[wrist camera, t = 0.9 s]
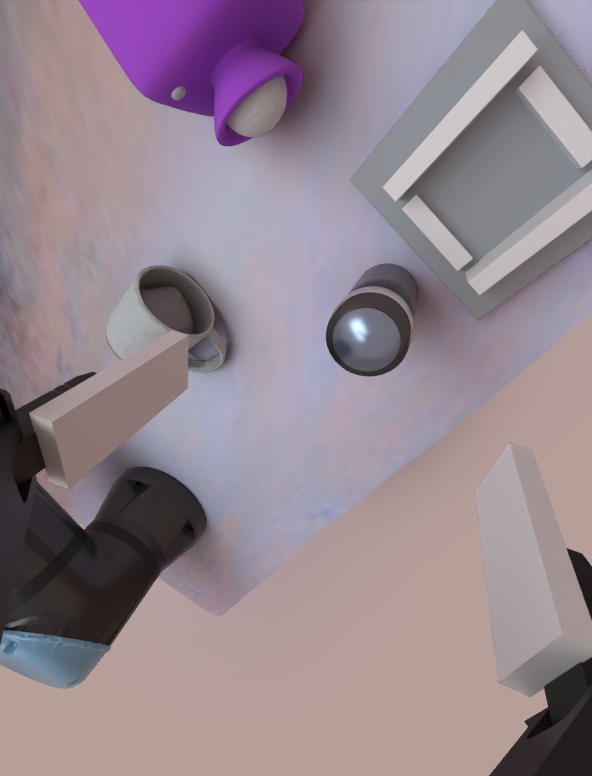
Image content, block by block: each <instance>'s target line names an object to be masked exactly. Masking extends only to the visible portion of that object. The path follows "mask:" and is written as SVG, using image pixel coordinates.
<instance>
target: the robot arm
mask: <svg viewBox="0 0 592 776" xmlns="http://www.w3.org/2000/svg"><path fill="white" fill-rule="evenodd" d="M188 336H189V335H187V334H184V333H181V332H178V331H175V330H172V331H170V332H168V333H167V334H165V335H163V336H161V337H160V338H158V339H156V340H154V341H153V342H151V343H149V344H148V345H146V346H144V347H142V348H141V349H139V350H137V351H135V352H134V353H132V354H130V355H129V356H127V357H125V358H123V359H122V360H120V361H118V362H116V363H115V364H113V365H111V366H109V367H108V368H106V369H104V370H103V371H101V372H99V373H95V372H91V373H87V374H84V375H80V376H77V377H75V378H73V379H71V380H70V381H68V382H66V383H64V385H63V386H62V385H61V386H59V387H57V388H55V389H53V391H50V392H48V393H46V394H44V395H42V396H41V397H39V398H37V399H35V400H33V401H32V402H30V403H28V404H26V405H24V406H23V407H21V408H19V409H17V410H15V408H14V405H13V402H12V399H11V395H10V394H9V393H8V392H7V391H6V390H3V389H0V664H1V665H3V666H5V667H7V668H9V669H11V670H13V671H15V672H17V673H19V674H21V675H23V676H26V677H28V678H30V679H33V680H36V681H38V682H41V683H44V684H46V685H49V686H53V687H57V688H64V689H65V688H71V687H74V686H76V685H78V684H80V683H81V682H82V681H84V680H85V679H86V677H87V676H88V675H89V674H90V672H91V671H92V670H93V669H94V667H95V666H96V665H97V663H98V662H99V661H100V660H101V658H102V657H103V656H104V654H105V653H106V652H108V651H109V650H110V648H111V647H110V646H111V644H112V643H113V642H114V640H115V639H116V637H117V636H118V634H119V633H120V631H121V630H122V629H123V627H124V626H125V624H126V623H127V621H128V620H129V618H130V617H131V615H132V614H133V613H134V611H135V610H136V608H137V607H138V605H139V604H140V602H141V601H142V599H143V598H144V596H145V595H146V594H147V592H148V591H149V589H150V588H151V586H152V585H153V583H154V582H155V580H156V579H157V578H158V576H159V575H160V573H161V572H162V571H163V570H164V569H165V568H167V567H168V566H169V565H170V564H172V563H173V562H174V561H175V560H176V559H178V558H179V557H180V556H181V555H183V554H184V553H185V552H186V551H188V550H189V549H190V548H191V547H193V546H194V544H195V543H196V542H197V540H198V539H199V537H200V536H201V534H202V533H203V531H204V529H205V516H204V513H203V510H202V508H201V506H200V505H199V503H198V501H197V500H196V499H195V497H194V496H193V495H192V494H191V493H190V492H189V491H188V490H187V489H186V488H185V487H184V486H183V485H182V484H181V483H179V482H178V481H177V480H175V479H174V478H172V477H170V476H169V475H167V474H165V473H163V472H160V471H158V470H155V469H151V468H146V467H135V468H131V469H129V470H127V471H126V472H125V473H124V474H123V475H122V476H121V477H119V478H118V479H117V480H116V481H115V483H114V484H113V485H112V487H111V489H110V491H109V493H108V495H107V497H106V498H105V500H104V502H103V504H102V506H101V508H100V510H99V512H98V513H97V515H96V517H95V519H94V520H93V521H92V522H91V523H90V524H89V525H88V526H87V527H86V528H85V529H84V530H83V529H82V528H81V527H80V526H79V525H78V523H77V522H76V521H75V520H74V519H73V518H72V517H71V516H70V515H69V514H68V513H67V512H66V511H65V510H64V509H63V508H62V507H61V506H60V505H59V504H58V503H57V502H56V501H55V500H54V499H53V498H52V496H51V495H50V494H49V493H48V492H47V491H46V490H45V489H44V488H43V487H42V486H41V485H40V484H39V483H38V482H37V479H36V474H37V473H38V472H40V471H41V470H42V469H44V468H45V469H46V473H47V476H48V480H49V481H51V482H53V483H55V484H57V485H60V486H62V487H64V488H66V489H68V490H69V489H70V488H71V487H72V486H73V485H74V484H76V483H77V482H78V481H79V480H80V479H81V478H83V477H84V476H85V475H86V474H87V473H89V472H90V471H91V470H92V469H93V468H94V467H96V466H97V465H98V464H99V463H100V462H102V461H103V460H104V459H105V458H106V457H107V456H109V455H110V454H111V453H112V452H113V451H115V450H116V449H117V448H118V447H119V446H120V445H122V444H123V443H124V442H125V441H126V440H127V439H129V438H130V437H131V436H132V435H133V434H135V433H136V432H137V431H138V430H139V429H140V428H142V427H143V426H144V425H145V424H146V423H148V422H149V421H150V420H151V419H152V418H153V417H155V416H156V415H157V414H158V413H159V412H160V411H162V410H163V409H164V408H165V407H166V406H168V405H169V404H170V403H171V402H172V401H173V400H175V399H176V398H177V397H178V396H179V395H181V394H182V393H183V392H184V391H185V390H186V389H188ZM475 496H476V503H477V504H476V505H477V513H478V521H479V529H480V537H481V545H482V553H483V561H484V569H485V578H486V586H487V593H488V601H489V610H490V618H491V626H492V634H493V642H494V651H495V659H496V667H497V675H498V683H500V684H502V685H504V686H507V687H509V688H511V689H514V690H516V691H518V692H520V693H522V694H525V695H527V696H529V697H531V696H533V695H534V694H536V693H537V692H539V691H541V690H542V689H545V694H546V699H547V703H548V708H546V709H544V710H543V711H541V712H539V713H537V714H536V715H534V716H533V717H531V718H529V719H527V720H526V721H525V723H526V724H527V726H528V728H527V729H526V731H525V732H524V733H523V734H522V736H521V737H520V738H519V739H518V741H517V742H516V743H515V744H514V746H513V747H512V748H511V749H510V751H509V752H508V753H507V754H506V756H505V757H504V758H503V759H502V760H501V762H500V763H499V764H498V765H497V767H496V768H495V769H494V771H493V772H492V773H491V774H490V775H489V776H592V566H591V565H590V563H589V562H588V561H587V559H586V558H585V557H584V556H583V554H581V553H578V552H576V551H573V550H570V549H568V548H566V546H565V543H564V540H563V537H562V534H561V532H560V529H559V526H558V523H557V520H556V517H555V514H554V512H553V509H552V506H551V503H550V500H549V497H548V495H547V492H546V489H545V486H544V483H543V480H542V477H541V475H540V472H539V469H538V466H537V463H536V460H535V458H534V455H533V452H532V450H531V449H528V448H525V447H522V446H519V445H516V444H513V443H509V444H508V445H507V447H506V448H505V450H504V451H503V453H502V454H501V456H500V457H499V459H498V460H497V462H496V463H495V464H494V466H493V467H492V469H491V470H490V472H489V473H488V475H487V476H486V478H485V479H484V481H483V482H482V484H481V485H480V487H479V488H478V489H477V491H476V492H475Z"/></svg>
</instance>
